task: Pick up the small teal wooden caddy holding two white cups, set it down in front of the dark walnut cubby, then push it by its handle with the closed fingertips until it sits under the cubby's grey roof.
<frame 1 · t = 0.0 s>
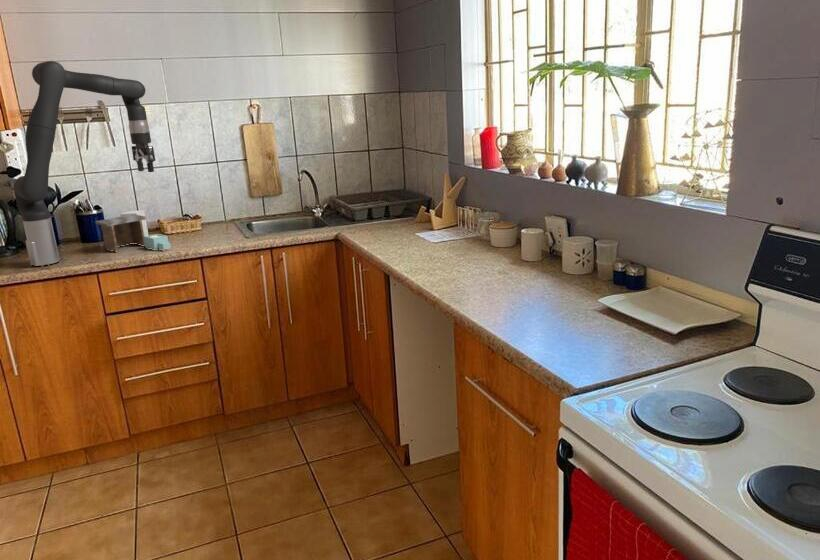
hand: (146, 171, 273), 29 cm above the worktop, tool pointing down, fingers open, 8 cm apart
shelf: (125, 248, 269), on the worktop
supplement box: (137, 241, 283), on the worktop
caddy: (157, 248, 266), on the worktop
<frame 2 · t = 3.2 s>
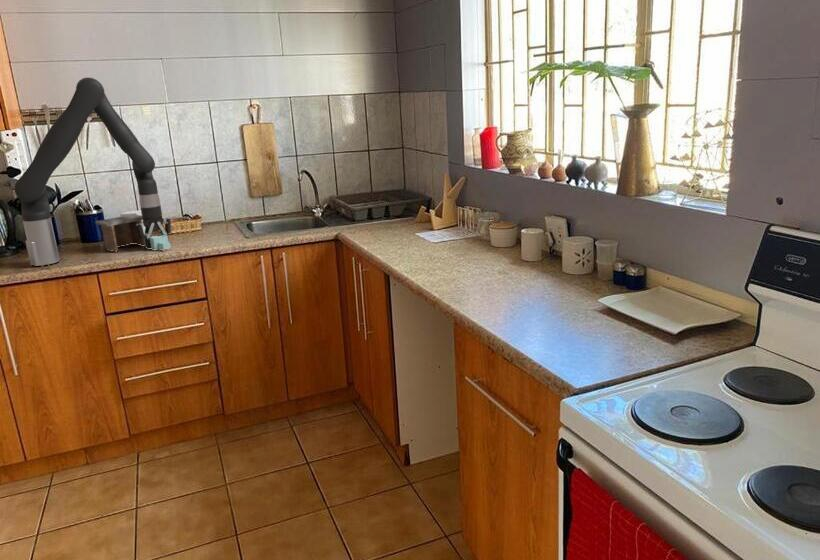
hand: (157, 246, 265), 1 cm above the worktop, tool pointing down, fingers closed on caddy, 6 cm apart
caddy: (157, 248, 266), on the worktop, touching gripper
everything else where it was.
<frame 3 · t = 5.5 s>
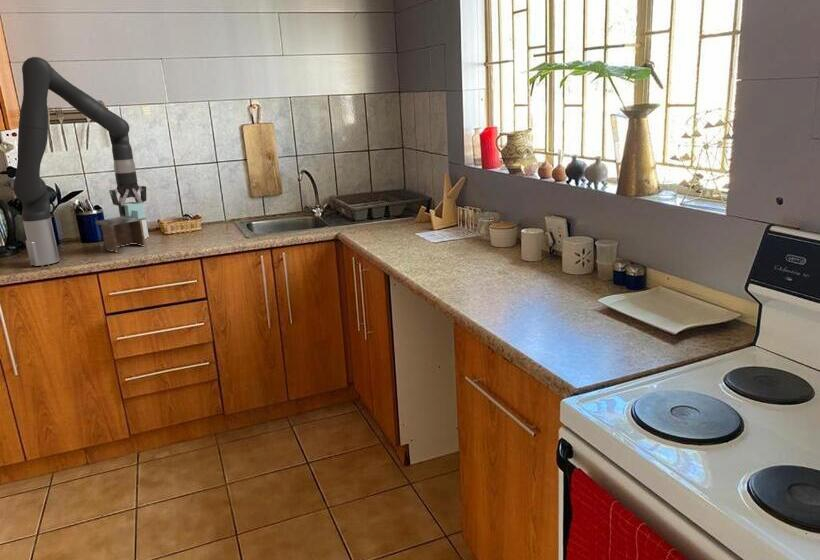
hand: (131, 214, 257), 15 cm above the worktop, tool pointing down, fingers closed on caddy, 6 cm apart
caddy: (132, 216, 258), point 14 cm above the worktop, touching gripper
everything else where it was.
when the fingers open (2 cm above the worktop, at t = 7.6 s): caddy drops 1 cm, on the worktop.
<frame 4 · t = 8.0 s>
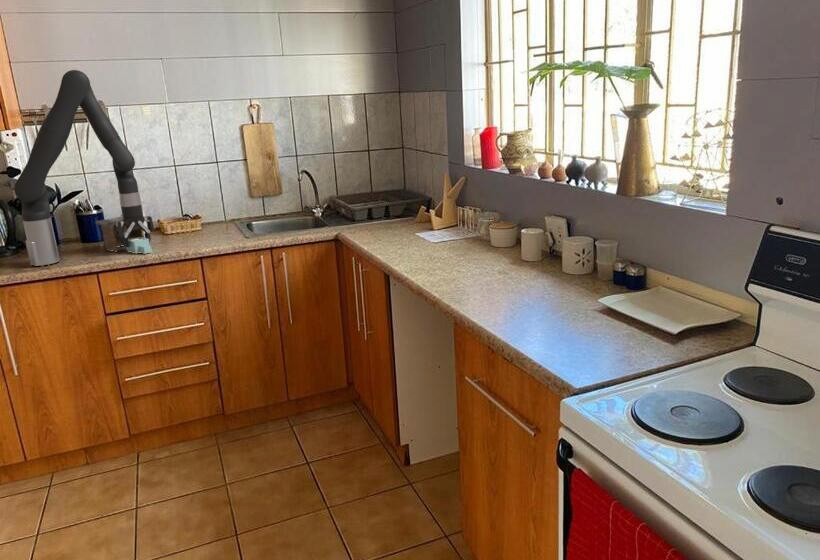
hand: (137, 244, 261), 3 cm above the worktop, tool pointing down, fingers open, 8 cm apart
caddy: (138, 251, 262), on the worktop
everything else where it was.
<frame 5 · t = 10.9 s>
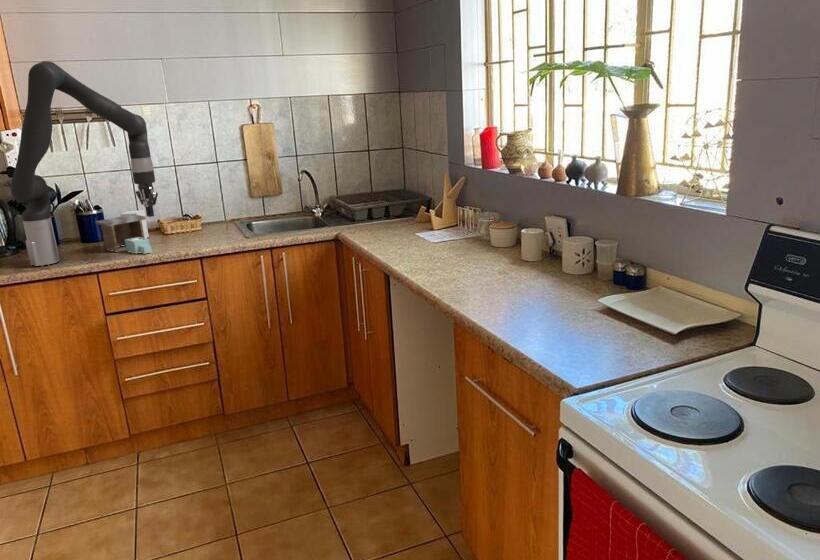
hand: (150, 216, 248), 15 cm above the worktop, tool pointing down, fingers closed
nothing on the worktop moved.
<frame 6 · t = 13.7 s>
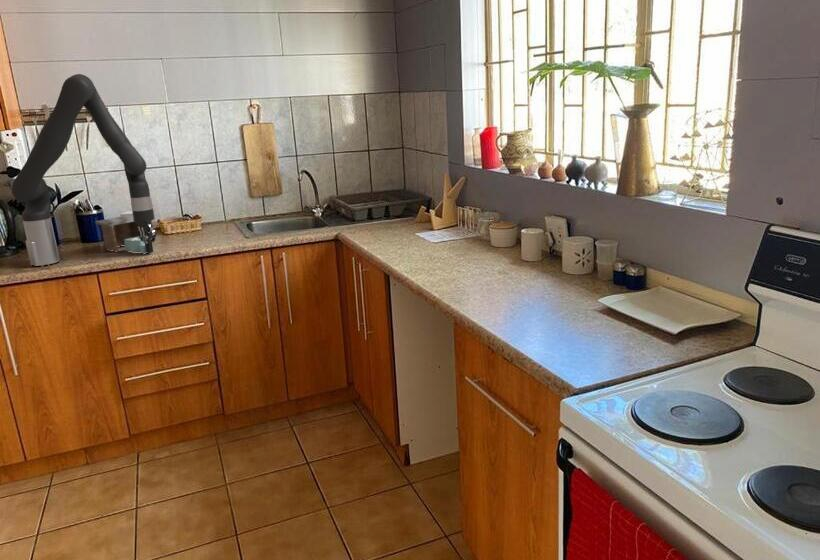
hand: (149, 252, 255), 1 cm above the worktop, tool pointing down, fingers closed
caddy: (138, 251, 262), on the worktop, touching gripper
everything else where it was.
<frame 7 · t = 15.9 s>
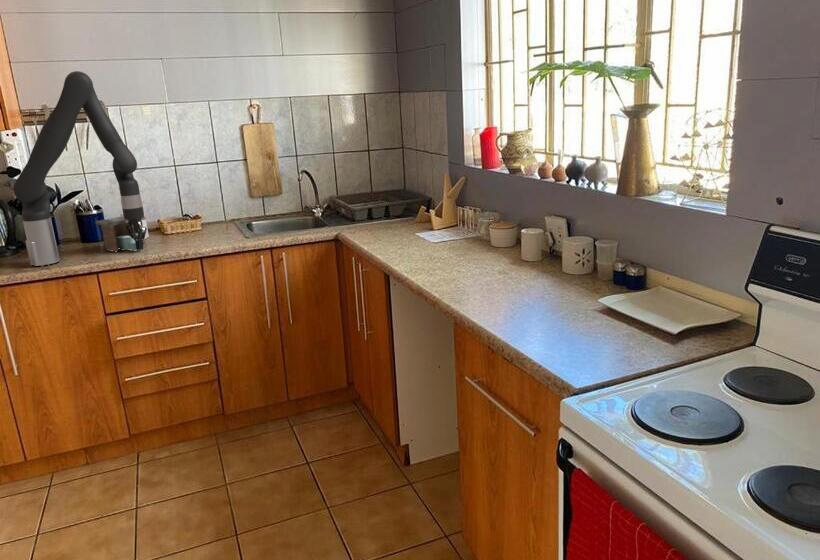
hand: (140, 249, 261), 1 cm above the worktop, tool pointing down, fingers closed
caddy: (128, 248, 268), on the worktop, touching gripper
everything else where it was.
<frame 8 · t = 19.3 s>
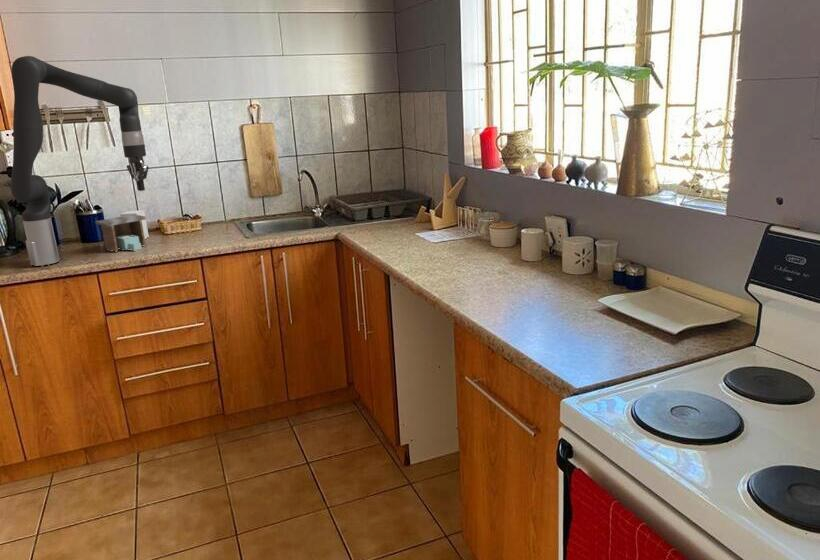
hand: (141, 190, 248), 25 cm above the worktop, tool pointing down, fingers closed
caddy: (128, 248, 268), on the worktop
everything else where it was.
at the end: caddy inside the target area on the shelf (2.1 cm from its centre), point 0.0 cm above the shelf's base; caddy tilted 0° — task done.
